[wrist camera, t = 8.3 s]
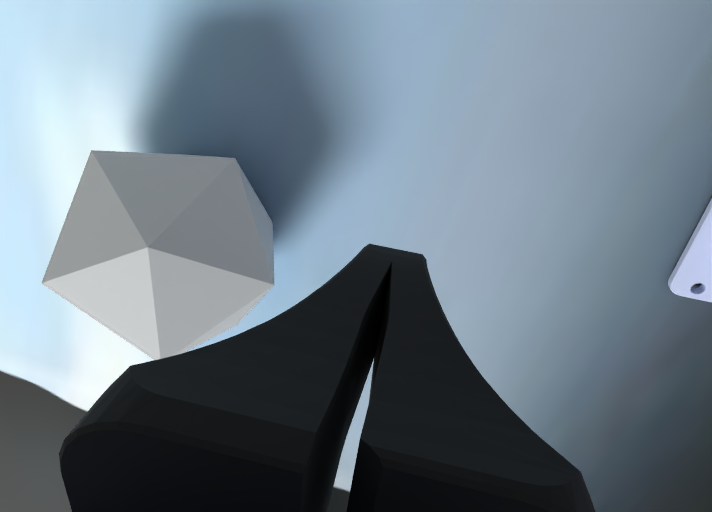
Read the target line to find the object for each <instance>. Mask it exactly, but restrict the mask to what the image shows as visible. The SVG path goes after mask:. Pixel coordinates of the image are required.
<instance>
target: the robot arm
mask: <svg viewBox="0 0 712 512" xmlns="http://www.w3.org/2000/svg"><path fill="white" fill-rule="evenodd" d="M696 283H702V285H701V286H700V287H699V288H696V289H691V287H692V286H693V285H694V284H696ZM668 284H669V287H670V289H671V291H672V292H673V293H674V294H677V295H679V296H684V297H689V298H693V299H698V300H703V301H708V302H712V199H711V201H710V203H709V204H708V206H707V208H706V210H705V212H704V214H703V216H702V218H701V220H700V221H699V223H698V225H697V227H696V229H695V231H694V233H693V235H692V237H691V238H690V240H689V242H688V244H687V246H686V248H685V250H684V252H683V253H682V255H681V257H680V259H679V261H678V263H677V265H676V267H675V269H674V270H673V272H672V274H671V276H670V278H669V281H668ZM373 359H374V364H373V373H372V381H371V390H370V399H369V406H368V410H367V414H366V418H365V422H364V426H363V429H362V433H361V437H360V442H359V448H358V453H357V458H356V464H355V469H354V474H353V480H352V485H351V490H350V496H349V501H348V507H347V512H595V509H594V506H593V503H592V501H591V498H590V495H589V493H588V490H587V487H586V485H585V482H584V479H583V477H582V474H581V472H580V471H579V470H578V469H577V468H576V467H574V466H573V465H572V464H571V463H570V462H568V461H567V460H566V459H565V458H564V457H563V456H561V455H560V454H559V453H558V452H557V451H555V450H554V449H553V448H552V447H551V446H550V445H548V444H547V443H546V442H545V441H544V440H542V439H541V438H540V437H539V436H538V435H537V434H536V433H535V432H533V431H532V430H531V429H530V428H529V427H528V426H527V425H526V424H525V423H524V422H523V421H522V420H521V419H520V418H519V417H518V416H517V415H516V414H515V413H514V412H513V411H512V410H511V409H510V408H509V407H508V406H507V404H506V403H505V402H504V401H503V400H502V399H501V398H500V397H499V396H498V394H497V393H496V392H495V391H494V390H493V388H492V387H491V386H490V385H489V384H488V383H487V381H486V380H485V379H484V378H483V377H482V375H481V374H480V373H479V371H478V370H477V368H476V367H475V366H474V364H473V363H472V361H471V360H470V358H469V357H468V355H467V354H466V352H465V351H464V349H463V347H462V346H461V344H460V342H459V341H458V339H457V337H456V336H455V334H454V332H453V330H452V328H451V326H450V324H449V322H448V320H447V318H446V316H445V314H444V312H443V310H442V307H441V305H440V303H439V300H438V298H437V296H436V293H435V290H434V288H433V285H432V282H431V279H430V275H429V272H428V268H427V262H426V259H425V257H424V256H423V254H418V253H413V252H408V251H403V250H398V249H393V248H388V247H383V246H378V245H373V244H369V245H367V246H365V247H364V248H363V249H362V250H361V251H360V252H359V253H358V254H357V256H356V257H355V258H354V259H353V260H352V261H350V262H349V263H348V264H347V265H346V266H345V267H344V268H343V269H342V270H341V271H340V272H338V273H337V274H336V275H335V276H334V277H332V278H331V279H330V280H329V281H328V282H327V283H325V284H324V285H323V286H321V287H320V288H319V289H317V290H316V291H315V292H313V293H312V294H310V295H309V296H308V297H306V298H305V299H304V300H302V301H301V302H299V303H298V304H296V305H295V306H293V307H291V308H290V309H288V310H287V311H285V312H283V313H281V314H280V315H278V316H276V317H274V318H273V319H271V320H269V321H267V322H265V323H262V324H260V325H258V326H256V327H253V328H251V329H249V330H247V331H245V332H242V333H240V334H238V335H236V336H233V337H230V338H228V339H225V340H222V341H220V342H217V343H214V344H211V345H208V346H205V347H202V348H199V349H196V350H192V351H189V352H186V353H182V354H178V355H174V356H170V357H166V358H162V359H158V360H154V361H150V362H146V363H142V364H137V365H132V366H130V367H129V368H128V369H127V370H126V371H125V372H124V373H123V374H122V375H121V376H120V377H119V378H118V379H117V380H116V381H115V382H114V383H113V384H111V385H110V387H109V388H108V389H107V390H106V391H105V392H104V393H103V394H102V395H101V397H100V398H99V399H98V400H97V401H96V402H95V404H94V405H93V406H92V407H91V408H90V410H89V411H88V412H87V413H86V414H85V416H84V417H83V418H82V419H81V420H80V422H79V423H78V424H77V425H76V426H75V428H74V429H73V430H72V431H71V432H70V434H69V435H68V436H67V437H66V438H65V440H64V442H63V445H62V447H61V450H60V453H59V457H60V467H61V474H62V478H63V481H64V485H65V488H66V492H67V495H68V498H69V502H70V505H71V509H72V512H327V510H328V506H329V502H330V498H331V493H332V489H333V485H334V481H335V477H336V473H337V469H338V465H339V461H340V457H341V453H342V449H343V446H344V443H345V439H346V436H347V433H348V430H349V427H350V425H351V422H352V419H353V416H354V413H355V410H356V408H357V405H358V402H359V399H360V396H361V393H362V391H363V388H364V385H365V382H366V379H367V376H368V373H369V371H370V368H371V365H372V362H373Z"/></svg>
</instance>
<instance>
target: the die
mask: <svg viewBox="0 0 712 512" xmlns="http://www.w3.org/2000/svg"><path fill="white" fill-rule="evenodd" d="M42 284H43V285H45V286H46V287H48V288H49V289H51V290H52V291H54V292H55V293H57V294H58V295H60V296H61V297H63V298H64V299H66V300H67V301H69V302H70V303H71V304H73V305H74V306H76V307H77V308H79V309H80V310H82V311H83V312H85V313H86V314H88V315H89V316H91V317H92V318H94V319H95V320H97V321H98V322H99V323H101V324H102V325H104V326H105V327H107V328H108V329H110V330H111V331H113V332H114V333H116V334H117V335H119V336H120V337H122V338H123V339H125V340H126V341H127V342H129V343H130V344H132V345H133V346H135V347H136V348H138V349H139V350H141V351H142V352H144V353H145V354H147V355H148V356H150V357H151V358H153V359H154V360H158V359H162V358H166V357H170V356H174V355H178V354H182V353H184V352H186V351H188V350H190V349H192V348H194V347H196V346H198V345H200V344H202V343H204V342H206V341H208V340H210V339H212V338H214V337H216V336H217V335H219V334H221V333H223V332H225V331H227V330H229V329H231V328H233V327H235V326H237V325H238V324H239V323H240V322H241V320H242V319H243V318H244V317H245V316H246V315H247V314H248V313H249V312H250V311H251V310H252V309H253V307H254V306H255V305H256V304H257V303H258V302H259V301H260V300H261V299H262V298H263V297H264V296H265V294H266V293H267V292H268V291H269V290H270V289H271V288H272V287H273V286H274V251H273V222H272V220H271V219H270V217H269V215H268V214H267V212H266V210H265V208H264V207H263V205H262V203H261V202H260V200H259V198H258V197H257V195H256V193H255V191H254V190H253V188H252V186H251V185H250V183H249V181H248V179H247V178H246V176H245V174H244V173H243V171H242V169H241V167H240V166H239V164H238V162H237V161H236V159H235V158H228V157H213V156H199V155H184V154H161V153H138V152H115V151H92V150H91V153H90V155H89V158H88V161H87V163H86V166H85V169H84V171H83V174H82V177H81V179H80V182H79V185H78V187H77V190H76V193H75V195H74V198H73V201H72V203H71V206H70V209H69V211H68V214H67V217H66V219H65V222H64V225H63V227H62V230H61V233H60V235H59V238H58V241H57V243H56V246H55V249H54V251H53V254H52V257H51V259H50V262H49V265H48V267H47V270H46V273H45V275H44V278H43V281H42Z"/></svg>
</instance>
